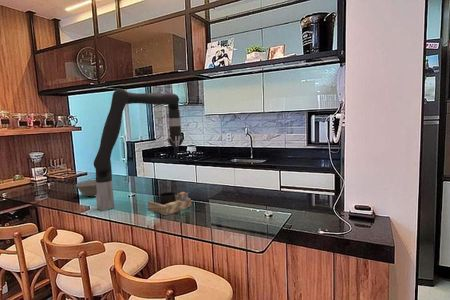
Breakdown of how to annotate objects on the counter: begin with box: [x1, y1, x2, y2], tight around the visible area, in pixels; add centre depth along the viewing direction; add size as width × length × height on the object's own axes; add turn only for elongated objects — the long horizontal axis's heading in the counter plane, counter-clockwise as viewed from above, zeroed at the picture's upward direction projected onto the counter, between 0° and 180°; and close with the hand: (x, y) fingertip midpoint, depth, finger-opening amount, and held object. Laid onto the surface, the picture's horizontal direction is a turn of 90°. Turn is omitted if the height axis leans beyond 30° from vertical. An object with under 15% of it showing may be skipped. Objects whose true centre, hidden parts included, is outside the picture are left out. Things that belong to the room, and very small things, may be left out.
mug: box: [158, 191, 176, 205], centre depth 175 cm, size 9×12×9 cm
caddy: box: [147, 192, 192, 216], centre depth 175 cm, size 19×17×9 cm
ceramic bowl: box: [75, 179, 97, 197], centre depth 216 cm, size 22×23×10 cm
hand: (176, 152), depth 189 cm, fingers closed
